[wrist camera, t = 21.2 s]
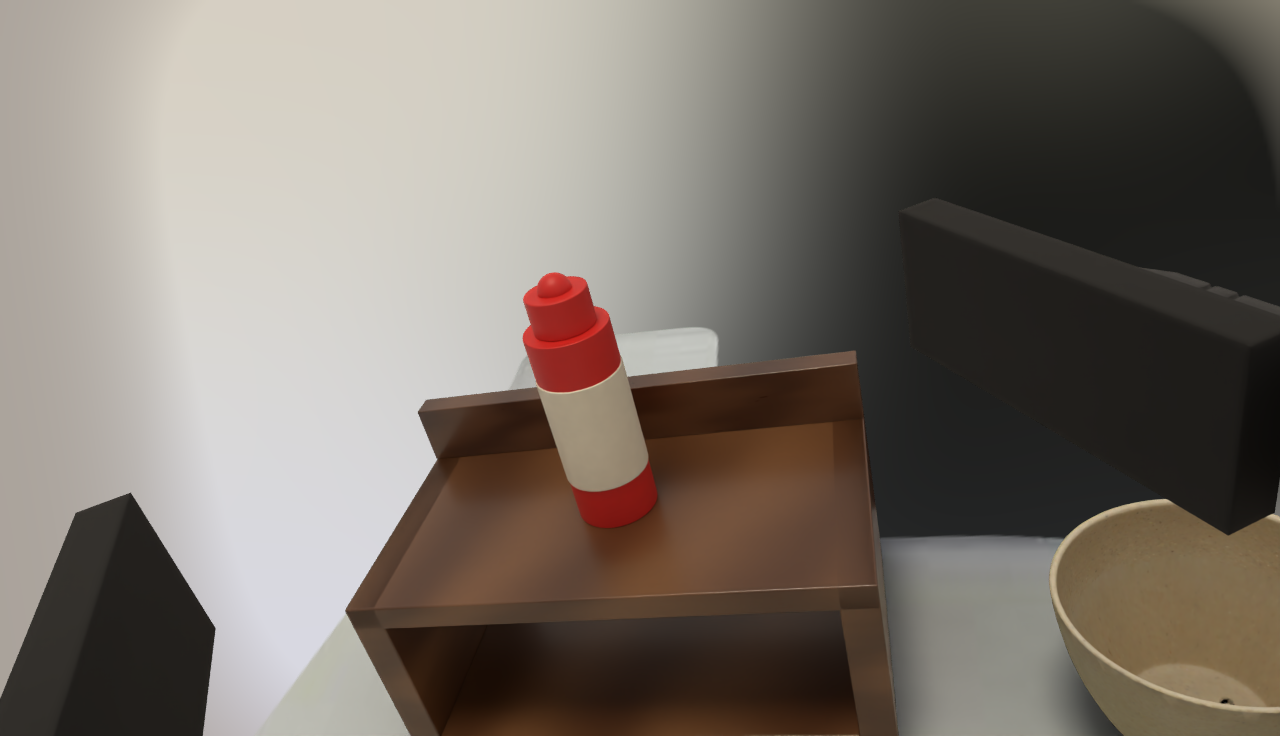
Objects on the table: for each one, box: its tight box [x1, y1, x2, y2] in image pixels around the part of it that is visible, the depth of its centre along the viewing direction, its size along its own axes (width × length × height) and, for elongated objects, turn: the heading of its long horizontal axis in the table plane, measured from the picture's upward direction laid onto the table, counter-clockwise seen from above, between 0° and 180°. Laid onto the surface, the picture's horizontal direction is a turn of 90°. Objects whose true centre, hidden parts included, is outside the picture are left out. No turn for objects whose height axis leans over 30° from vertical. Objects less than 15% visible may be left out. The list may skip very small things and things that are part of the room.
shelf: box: [345, 351, 899, 736], centre depth 41 cm, size 22×12×12 cm, turn 81°
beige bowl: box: [1049, 499, 1280, 736], centre depth 32 cm, size 10×10×7 cm
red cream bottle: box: [523, 273, 657, 528], centre depth 37 cm, size 4×4×11 cm
